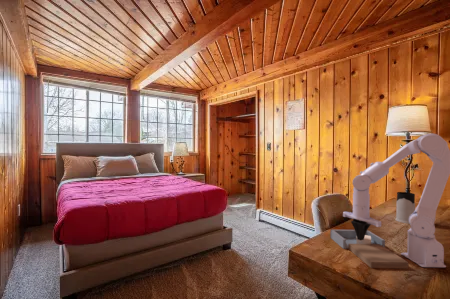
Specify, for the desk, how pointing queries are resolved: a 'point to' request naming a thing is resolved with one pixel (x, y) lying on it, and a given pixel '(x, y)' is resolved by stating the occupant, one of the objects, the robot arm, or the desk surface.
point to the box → (352, 238)
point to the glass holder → (404, 206)
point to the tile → (366, 240)
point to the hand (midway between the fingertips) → (360, 239)
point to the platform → (377, 256)
